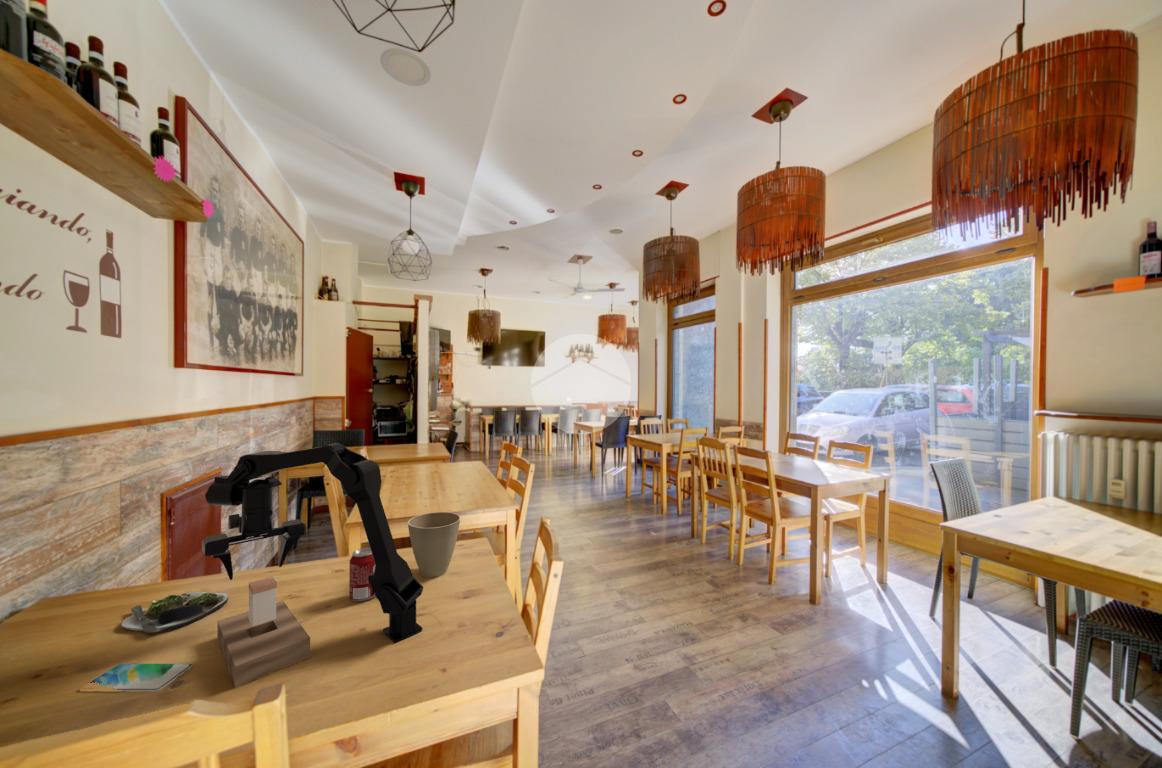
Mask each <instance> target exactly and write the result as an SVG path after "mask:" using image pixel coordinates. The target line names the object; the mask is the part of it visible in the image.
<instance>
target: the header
mask: <svg viewBox="0 0 1162 768" xmlns="http://www.w3.org/2000/svg"><path fill="white" fill-rule="evenodd" d="M216 637H217V642H218V645H219V647H220V650H221V654H222V657H223V659H224V662H225V665H226V667H227V670H228V673H229V675H230V679H231V681H232V684H233V686H234V689H236V688H239V687H242V686H245V685H246V684H249V683H251V682H253V680H254V681H256V680H258V679H257V678H259V677H261V678H263V677H265V676H264V675H266V674H268V675H270V674H269V673H271V674H272V672H273V673H274V672H275V671H276V672H278V671H280V670H283V669H285V668H287V667H289V666H293V665H295V664H297V663H300V662H302V661H304V660H307V659H309V658H311V637H310V635H309V634H308V632H307V631H306V630H305V628H304V627H303V626H302V624H301V623H300V621H299V620H298V619H297V618H296V616H295V615H294V613H293V612H292V611H291V609H290V608H289V607H288V605H287V604H286V602H285V601H284V600H280V601H276V619H274V620H271V621H268V622H265V623H262V624H259V625H256V626H252V625H251V623H250V621H249V610H248V611H245V612H242V613H239V614H236V615H233V616H229V617H226V618H223V619H220V620H217V635H216ZM277 670H278V671H277ZM262 676H263V677H262ZM266 676H267V675H266ZM255 679H256V680H255ZM259 679H260V678H259Z"/></svg>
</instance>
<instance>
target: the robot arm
mask: <svg viewBox="0 0 1162 768" xmlns="http://www.w3.org/2000/svg"><path fill="white" fill-rule="evenodd" d="M321 463H323V464H325V465H326V467H327V469H328V470H329V473H330V474H331V476H333V477H334V478H335V479H337V480H338V481H339V482H340V484H341V487H342V488H343V491H344V492H345V494H346V495H347V497H348V498H350V499H351V500H352V501H353V502H354V503H355V504H356V506H357V509H358V512H359V515H360V518H361V522H362V525H363V528H364V529H363V530H364V532H365V534H366V538H367V541H368V542H367V543H368V546H369V548H371V552H372V555H373V558H374V561H375V571H374V572H373V573H372V574H371V575H369V576H368V580H369V583H370V585H371V587H372V595H373V594H374V593H375V596H374V597H375V598H376V599H377V601H379V604H380V607H381V610H382V612H383V614H388V621H389V622H388V626H387V627H384V628H383V629H382V633H384V634H385V635H386V636H387V637H388V638H389V639H390V640H391V642H393V643H397V642H400V641H402V640H404V639H406V638H409V637H411V636H412V635H415V634H417V633H420V632H422V631H423V627H422V626H421V625H420V624H419V623H418V622H417V599H418V598H419V597H421V596H422V593H423V591H424V586H423V585H422V583H420V582H419V581H418V579H416V578H415V576H414V574H413V572H412V570H411V568H410V566H409V564H408V562H407V561H406V560H405V559H404V558H403V557H402V556H401V555H400V554H399V553H398V551H397V550H398V549H397V548H396V543H395V541H394V538H393V534H392V531H391V528H390V525H389V522H388V518H387V516H386V512H385V509H384V507H383V503H382V500H381V487H382V475H381V468H380V466H379V464H378V463H377V461H376V462H375V461H374V460H372V459H368V458H367V457H365V456H364V455H362V454H360V453H358V452H355V451H353V450H351V449H349V448H347V446H345V445H344V444H342V443H338V442H334V443H329V444H325V445H323V446H316V447H312V448H305V449H299V450H293V451H279V450H264V451H259V452H254V453H249V454H248V453H247V454H244V455H243V454H242V456H240V457H239V459H238V461H237V463H236V465H235V467H234V468H233V469H232V471H231V472H230V473H229V475H225V474H224V475H220V476H215V477H214V482H213V483H211V484H210V486H208V489H207V490H206V493H205V501H206V503H207V504H208V505H211V506H226V507H227V506H229V507H238V506H241V516H240V513H236V514H231V515H228V519H227V521H228V522H227V525H228V526H227V527H228V530H233V529H238V535H233V536H228V534H226V533H221V534H216V535H215V534H214V535H209V536H205V537H204V538H203V539H202V541H201V551H202V553H203V555H204V557H212V559H219V560H220V561H221V563H222V564H223V567H224V569H225V572H226V573H227V576H228V578H229V580H230V581H231V580H233V579H234V578H233V577H234V572H233V563H232V555H231V551H230V550H229V548H230V546H235V545H240V544H244V543H248V542H253V541H254V542H255V541H259V540H263V539H267V538H268V539H269V538H272V537H278V536H280V538H279V539H280V540H279V541H280V544H279V553H278V567H279V568H281V567H282V566H283V564H284V563H285V561H286V558H287V556H288V554H289V552H290V550H291V549H292V547H293V545H294V544H295V542H296V541H297V540H298V541H299V540H300V539H301V536H305V535H307V525H306V523H304V521H302V520H300V519H299V518H298V519H291V520H287V521H286V520H285V521H282V522H281V526H278V527H273V514H274V513H273V488H276V487H279V486H282V485H283V483H282V481H281V480H279V479H278V478H276V477H275V476H274V475H272V474H275V473H278V472H282V470H285V469H291V468H298V467H300V466H301V467H302V466H308V465H314V464H321ZM269 475H272V476H269ZM264 476H267V477H265V479H264V478H263V479H262V477H264ZM260 478H261V479H260Z"/></svg>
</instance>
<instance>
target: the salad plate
mask: <svg viewBox="0 0 1162 768" xmlns="http://www.w3.org/2000/svg"><path fill="white" fill-rule="evenodd" d="M228 600H229V596H228V594H227V593H222V592H221V593H220V592H205V591H203V592H202V591H189V592H185V593H180V594H177V595H176V594H169V595H167V596H165V597H164V598H160V599H159V600H155V599H153V600H151V603H150V605H149V607H146V608H144V607H143V606H142V605H136V606H133V607H131V609H130V611H131V613H132V615H128V617H126V618H125V619H123V621H122V622H121V627H122V628H124V629H127V630H131V631H137V632H143V633H149V634H150V633H152V634H160V633H166V632H171V631H175V630H178V629H182V628H184V627H188V626H190V625H192V624H195V623H196V622H198V621H200V620H202V619H204V618H206V617H208V616H210V615H212V614H214V613H216V612H217V611H219V610H220V609H222V608H223V607H224V606H225V605H226V604H227V603H228Z"/></svg>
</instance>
